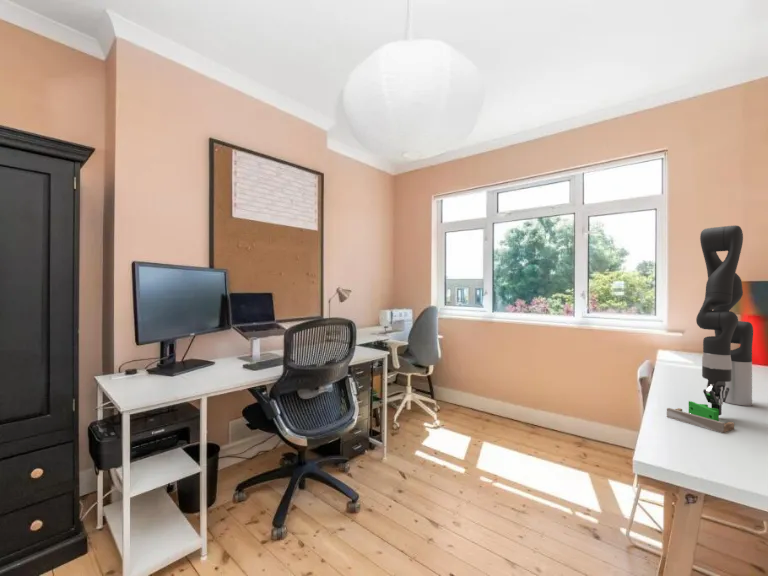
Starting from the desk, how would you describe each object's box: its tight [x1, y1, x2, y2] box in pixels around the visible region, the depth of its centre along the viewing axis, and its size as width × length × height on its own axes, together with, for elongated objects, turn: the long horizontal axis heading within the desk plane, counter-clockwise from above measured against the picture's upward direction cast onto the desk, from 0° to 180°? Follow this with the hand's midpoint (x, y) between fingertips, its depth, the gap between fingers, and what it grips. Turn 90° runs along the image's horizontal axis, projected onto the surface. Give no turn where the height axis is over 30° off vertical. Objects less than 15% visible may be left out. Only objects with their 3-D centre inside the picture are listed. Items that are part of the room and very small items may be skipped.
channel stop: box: [666, 407, 735, 434], centre depth 116 cm, size 8×15×3 cm, turn 24°
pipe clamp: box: [688, 400, 720, 422], centre depth 120 cm, size 11×4×5 cm, turn 173°
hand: (716, 414), depth 121 cm, fingers closed
